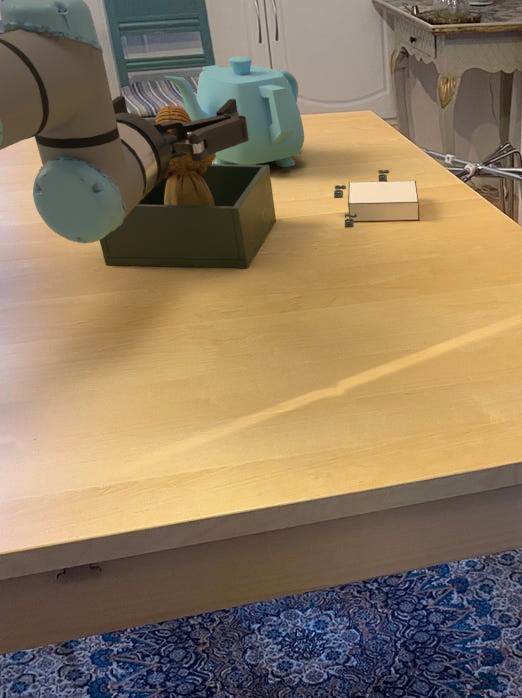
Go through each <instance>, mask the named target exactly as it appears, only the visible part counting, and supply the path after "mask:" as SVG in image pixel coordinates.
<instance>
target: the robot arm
mask: <svg viewBox="0 0 522 698" xmlns="http://www.w3.org/2000/svg"><path fill="white" fill-rule="evenodd" d="M92 15H93V14H92V12H91V9H90V7H89V5H88V4H87V2H86V1H84V0H3V1H2V2H1V4H0V17H1V23H2V26H1V29H2V32H3V33H1V34H0V151H1V150H4V149H5V148H8V147H11V146H13V145H15V144H17V143H19V142H22V141H25V140H29V139H32V138H33V137H34V139H35V143H36V146H37V149H38V153H39V157H40V160H41V164H42V166H40V169H39V170H38V172H37V174H36V176H35V179H34V182H33V187H32V195H33V196H32V198H33V202H34V203H33V204H34V205H35V208H36V211H37V213H38V214H39V216H40V218H41V219H42V221H43V222H44V223H45V225H46V226H47V227H48V228H49V229H50V230H52V231H53V232H54V233H55V234H57V235H58V236H60V237H62V238H64V239H66V240H68V241H70V242H74V243H78V244H91V243H95V242H99V241H100V240H101V239H102V238H104V237H105V236H106V235H107V234H109V233H110V232H111V231H115V230H116V229H117V228H119V227H120V226H121V224H122V223H123V220H124V219H125V218H126V217H127V215H128V214H129V213H130V212H131V210H132V209H133V208H135V207H136V206H137V205H138V204H139V203H140V201H141V200H142V199H143V198H144V197H145V196H146V195H147V194H148V193H149V192H150V191H151V190H153V189H154V188H155V186H156V185H157V184H158V183H159V182H160V181H161V180H162V179H163V178H164V176H165V174H166V172H167V169H168V165H169V161H170V159H174V158H178V157H182V156H185V155H187V153H191V158H192V160H193V161H200V160H203V159H204V158H206V157H207V156H208V155H211V154H214V153H216V152H219V151H222V150H225V149H227V148H230V147H233V146H236V145H238V144H241V143H244V142H246V141H249V138H248V130H247V123H246V117H245V116H242V115H239V113H238V112H237V105H236V99H229V100H228V101H227V102H226V103H225V104H224V105H223V106H222V107H221V108H220V109H219V110H218V111H217V112H216V114H217V116H215V117H210V118H206V119H201V120H196V121H192V122H187V123H180V122H177V121H174V120H172V121H167V122H163V123H156V121H151V122H150V121H149V120H147V119H146V118H144V117H142V116H140V115H137V114H135V113H132V112H128V108H127V102H126V97H125V96H119V95H118V96H116V97H115V98H112V93H111V88H110V85H109V83H110V82H109V79H108V74H107V69H106V64H105V59H104V55H103V53H104V49H103V47H102V45H101V44H100V42H99V39H98V34H97V32H96V27H95V23H94V19H93V16H92ZM170 129H172V132H173V134H172V133H170V132H169V131H167V130H170Z"/></svg>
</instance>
